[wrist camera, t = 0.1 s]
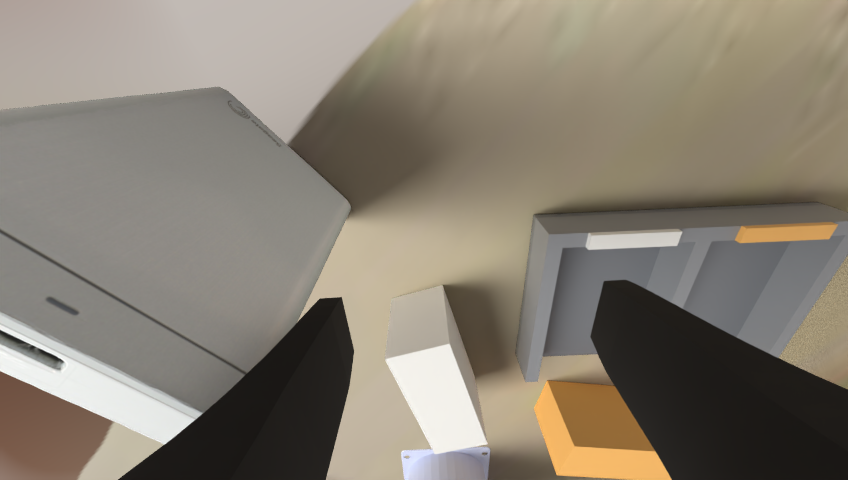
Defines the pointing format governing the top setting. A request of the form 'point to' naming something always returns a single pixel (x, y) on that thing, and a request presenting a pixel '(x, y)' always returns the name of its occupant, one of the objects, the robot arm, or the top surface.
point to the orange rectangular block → (594, 433)
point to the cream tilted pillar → (434, 370)
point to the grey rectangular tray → (680, 270)
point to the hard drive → (153, 250)
